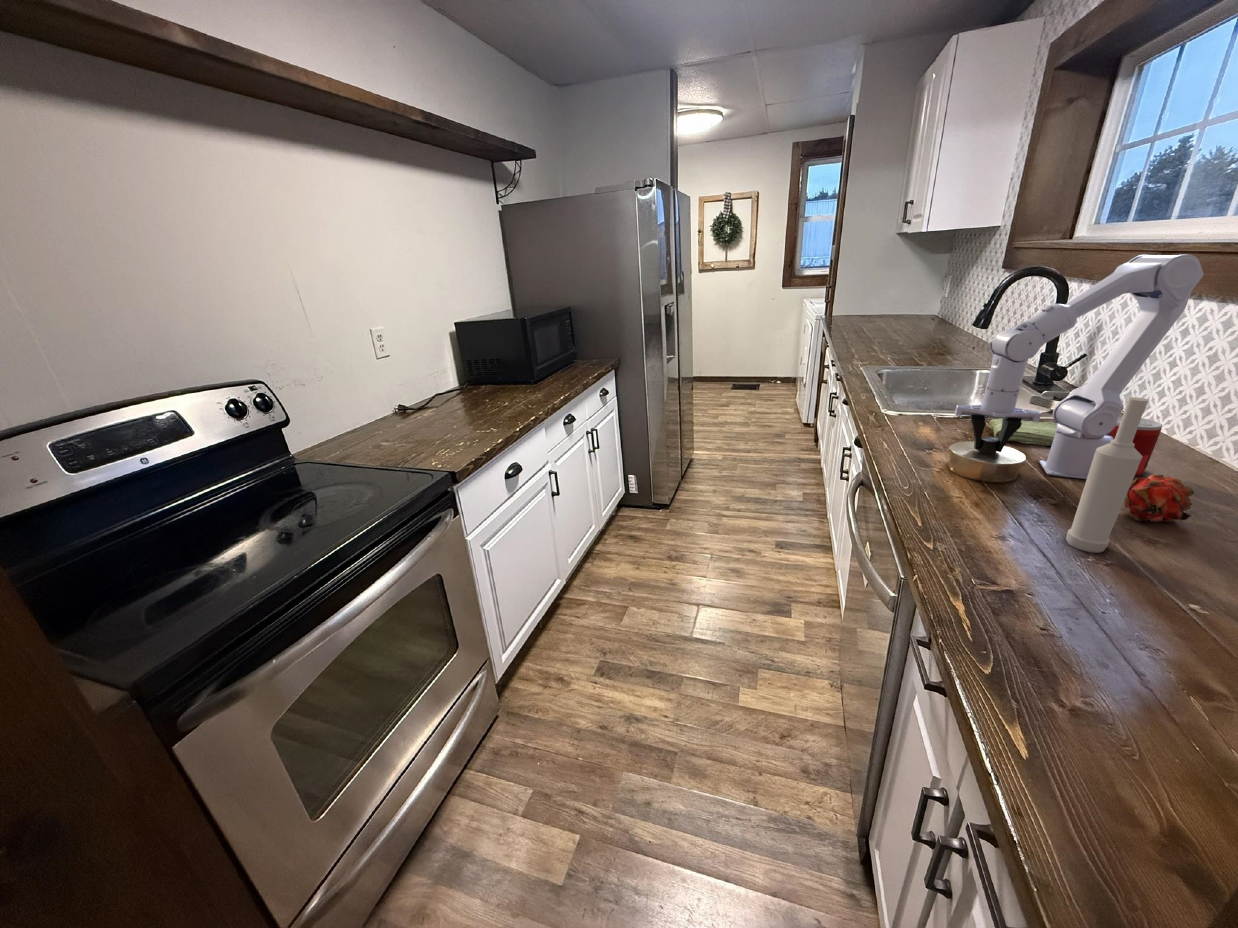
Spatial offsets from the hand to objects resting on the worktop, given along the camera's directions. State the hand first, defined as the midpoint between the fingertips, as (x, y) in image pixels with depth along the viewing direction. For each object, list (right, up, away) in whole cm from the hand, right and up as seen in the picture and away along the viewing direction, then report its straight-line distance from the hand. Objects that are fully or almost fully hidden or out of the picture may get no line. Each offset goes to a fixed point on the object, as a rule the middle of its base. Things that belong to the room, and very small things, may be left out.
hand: (987, 449), depth 109 cm
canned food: (+28, -5, 0) cm, 29 cm away
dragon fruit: (+15, -13, -20) cm, 28 cm away
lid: (0, -1, 0) cm, 1 cm away
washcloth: (+26, +3, +19) cm, 33 cm away
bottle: (-3, -17, -26) cm, 31 cm away
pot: (0, -5, +2) cm, 5 cm away
